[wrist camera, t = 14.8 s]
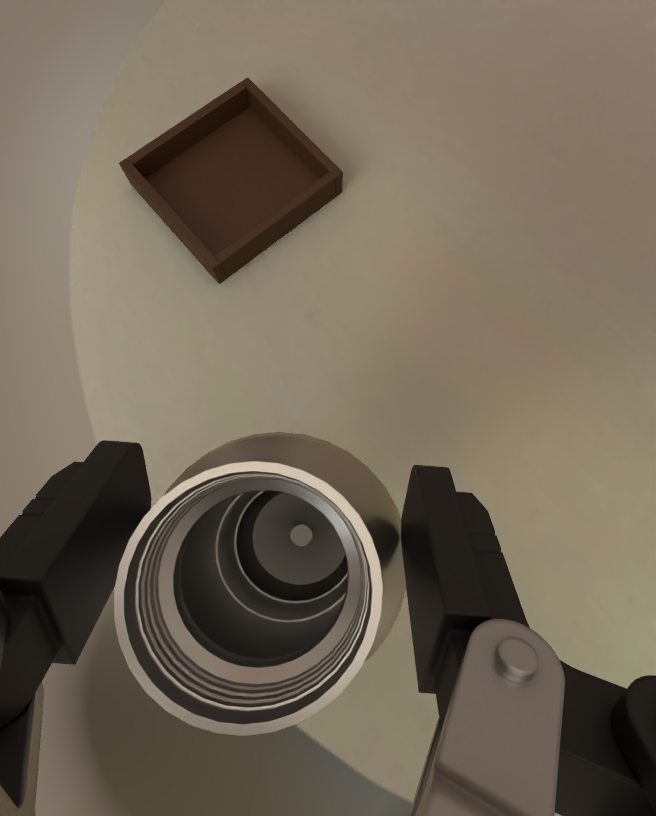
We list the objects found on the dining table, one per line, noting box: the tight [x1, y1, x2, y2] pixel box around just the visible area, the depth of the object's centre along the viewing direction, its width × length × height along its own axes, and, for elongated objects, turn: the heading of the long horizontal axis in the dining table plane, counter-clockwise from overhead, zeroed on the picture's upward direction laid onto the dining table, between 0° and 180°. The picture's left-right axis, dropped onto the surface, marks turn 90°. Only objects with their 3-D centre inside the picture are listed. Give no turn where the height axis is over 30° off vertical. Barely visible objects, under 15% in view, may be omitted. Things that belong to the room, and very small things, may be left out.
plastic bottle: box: [114, 432, 406, 736], centre depth 16 cm, size 6×7×20 cm
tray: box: [119, 78, 343, 284], centre depth 39 cm, size 14×13×2 cm
